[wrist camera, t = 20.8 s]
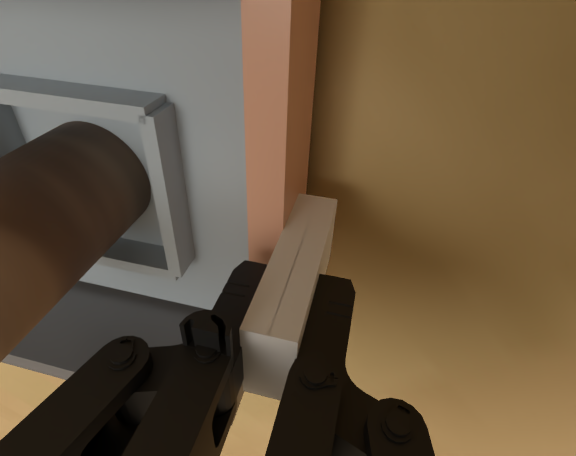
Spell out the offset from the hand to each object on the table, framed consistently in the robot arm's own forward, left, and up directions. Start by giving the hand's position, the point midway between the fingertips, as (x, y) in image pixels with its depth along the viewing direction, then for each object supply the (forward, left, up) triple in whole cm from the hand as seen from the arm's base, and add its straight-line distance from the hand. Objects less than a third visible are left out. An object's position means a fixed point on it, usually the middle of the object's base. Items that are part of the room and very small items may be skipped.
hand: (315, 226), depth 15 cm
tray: (+11, 0, -2) cm, 11 cm away
